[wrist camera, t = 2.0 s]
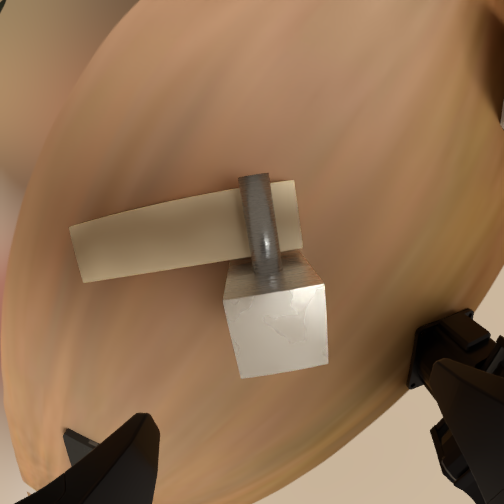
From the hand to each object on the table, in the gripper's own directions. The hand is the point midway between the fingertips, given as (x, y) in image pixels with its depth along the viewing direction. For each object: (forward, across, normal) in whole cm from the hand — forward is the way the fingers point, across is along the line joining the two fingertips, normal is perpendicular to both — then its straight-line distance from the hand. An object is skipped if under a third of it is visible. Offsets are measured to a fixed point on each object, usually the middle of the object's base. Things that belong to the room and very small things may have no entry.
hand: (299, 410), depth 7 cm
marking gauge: (+10, 0, -2) cm, 11 cm away
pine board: (+10, +5, -4) cm, 12 cm away
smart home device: (+11, +26, +25) cm, 38 cm away
